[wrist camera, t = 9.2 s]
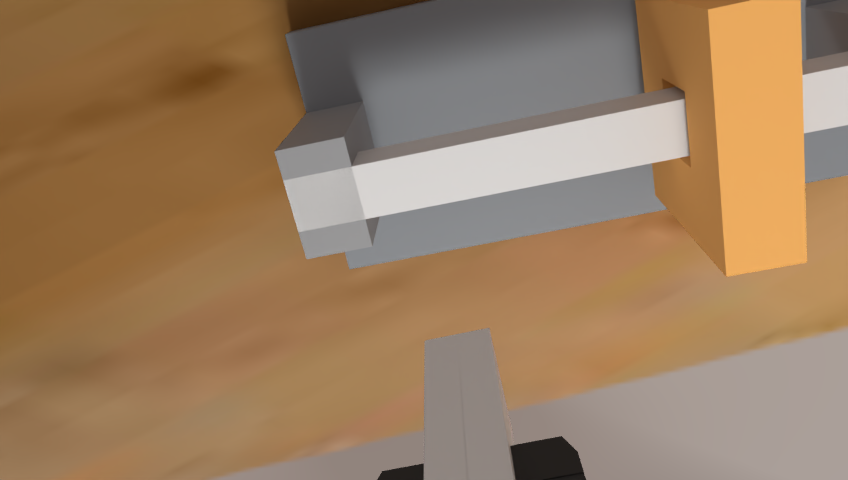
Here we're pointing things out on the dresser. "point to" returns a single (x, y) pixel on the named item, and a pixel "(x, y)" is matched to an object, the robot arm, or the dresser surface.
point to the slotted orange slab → (733, 125)
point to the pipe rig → (502, 122)
